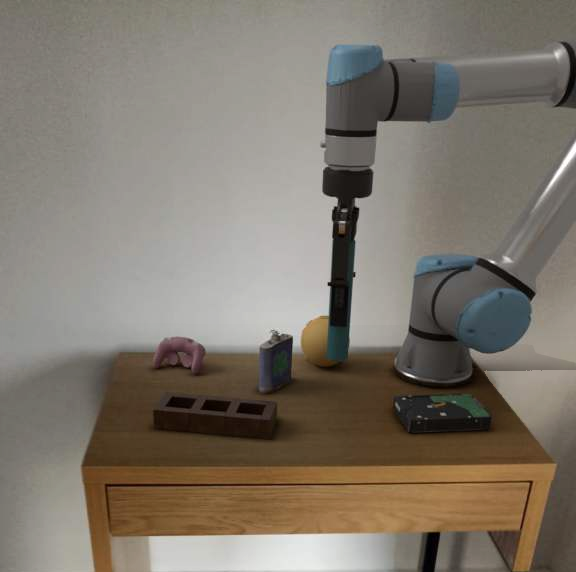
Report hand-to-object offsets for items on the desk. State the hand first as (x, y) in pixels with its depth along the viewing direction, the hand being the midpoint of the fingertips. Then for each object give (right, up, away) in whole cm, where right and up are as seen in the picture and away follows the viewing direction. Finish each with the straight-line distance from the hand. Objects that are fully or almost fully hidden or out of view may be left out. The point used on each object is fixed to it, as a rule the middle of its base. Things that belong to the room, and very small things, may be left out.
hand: (339, 321), depth 123 cm
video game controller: (-30, -3, +26) cm, 40 cm away
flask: (-11, -8, +19) cm, 24 cm away
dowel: (0, -5, +3) cm, 6 cm away
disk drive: (+18, -15, +9) cm, 25 cm away
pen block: (-21, -17, +4) cm, 27 cm away
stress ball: (-1, -2, +30) cm, 30 cm away
